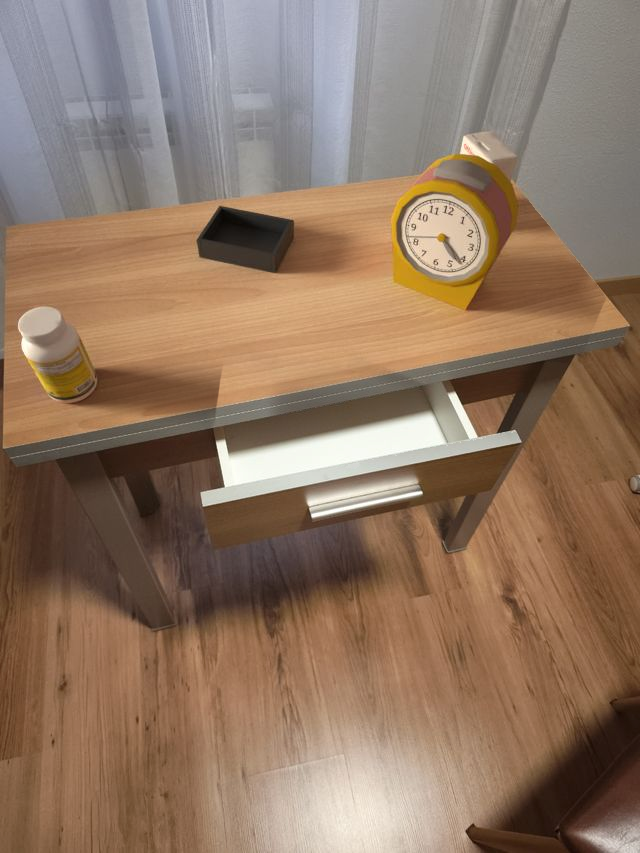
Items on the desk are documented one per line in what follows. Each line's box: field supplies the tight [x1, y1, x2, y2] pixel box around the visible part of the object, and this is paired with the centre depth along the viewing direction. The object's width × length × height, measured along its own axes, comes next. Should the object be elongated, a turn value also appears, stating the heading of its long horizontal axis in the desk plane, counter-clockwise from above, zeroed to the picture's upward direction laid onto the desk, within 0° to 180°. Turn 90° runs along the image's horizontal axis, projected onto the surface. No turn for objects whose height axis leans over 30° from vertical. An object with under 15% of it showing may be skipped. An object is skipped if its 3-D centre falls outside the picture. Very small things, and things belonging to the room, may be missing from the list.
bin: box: [196, 205, 295, 274], centre depth 86 cm, size 12×9×3 cm
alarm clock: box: [390, 153, 519, 311], centre depth 77 cm, size 15×8×18 cm, turn 60°
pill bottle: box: [17, 305, 98, 404], centre depth 66 cm, size 6×6×11 cm
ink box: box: [459, 130, 519, 183], centre depth 90 cm, size 9×5×12 cm, turn 21°
